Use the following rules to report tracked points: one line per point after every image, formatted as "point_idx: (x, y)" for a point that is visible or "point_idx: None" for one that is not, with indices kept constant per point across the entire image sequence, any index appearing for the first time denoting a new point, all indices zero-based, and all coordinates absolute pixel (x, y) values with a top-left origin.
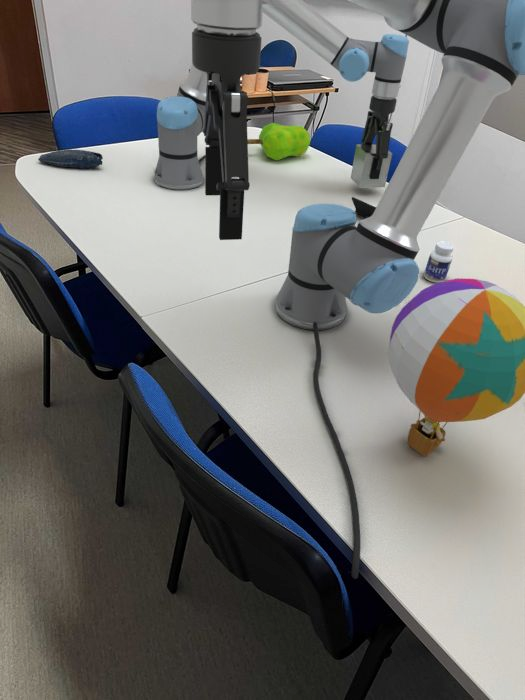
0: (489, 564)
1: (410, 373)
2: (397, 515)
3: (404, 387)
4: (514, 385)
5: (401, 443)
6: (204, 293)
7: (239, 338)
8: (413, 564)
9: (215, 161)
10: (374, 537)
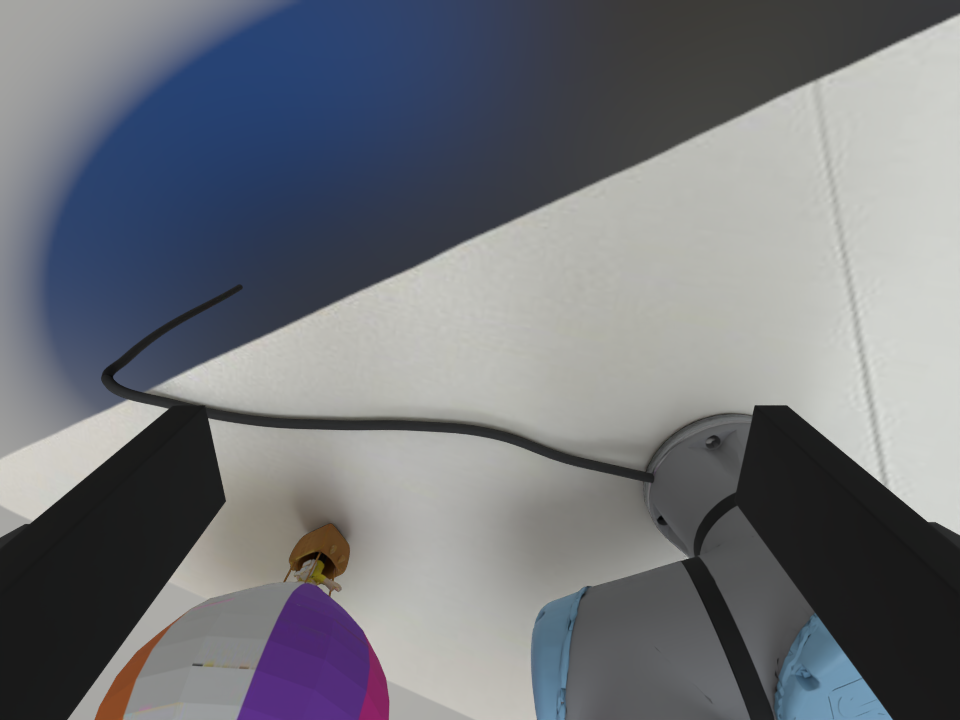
0: None
1: (177, 638)
2: None
3: (218, 601)
4: None
5: (337, 514)
6: (865, 261)
7: (659, 316)
8: None
9: (884, 615)
10: None
